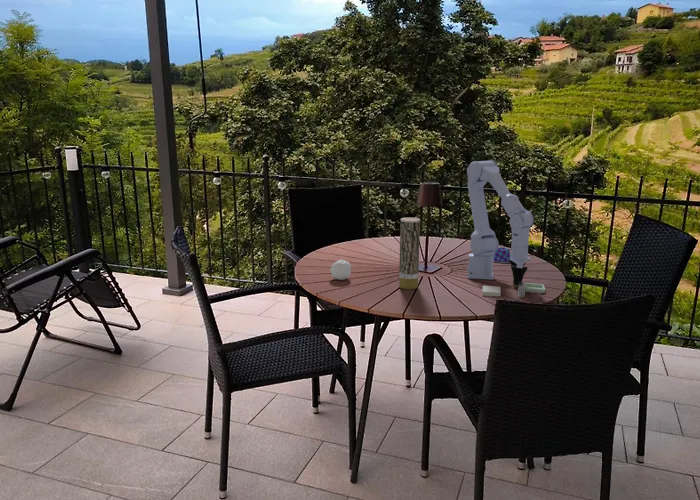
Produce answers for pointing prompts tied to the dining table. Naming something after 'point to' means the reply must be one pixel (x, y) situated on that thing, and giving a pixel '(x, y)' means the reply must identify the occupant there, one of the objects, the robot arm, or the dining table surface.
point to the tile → (491, 291)
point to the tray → (534, 287)
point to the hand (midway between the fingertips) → (516, 282)
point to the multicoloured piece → (502, 255)
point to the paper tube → (409, 253)
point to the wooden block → (521, 289)
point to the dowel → (514, 285)
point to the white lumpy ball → (341, 269)
